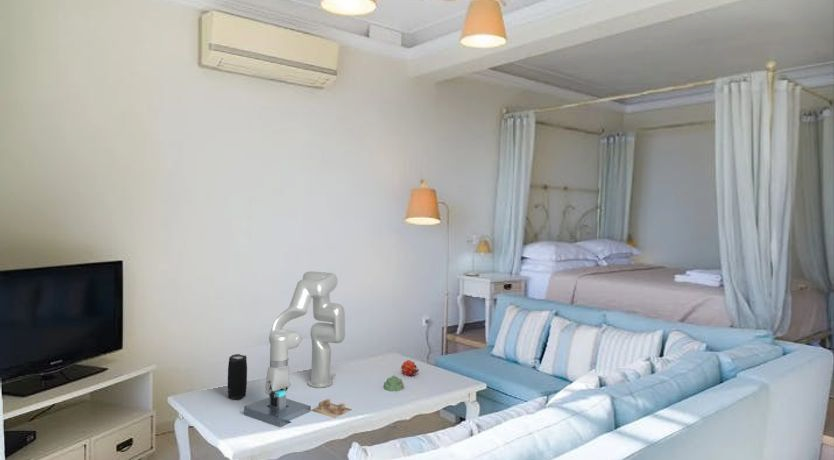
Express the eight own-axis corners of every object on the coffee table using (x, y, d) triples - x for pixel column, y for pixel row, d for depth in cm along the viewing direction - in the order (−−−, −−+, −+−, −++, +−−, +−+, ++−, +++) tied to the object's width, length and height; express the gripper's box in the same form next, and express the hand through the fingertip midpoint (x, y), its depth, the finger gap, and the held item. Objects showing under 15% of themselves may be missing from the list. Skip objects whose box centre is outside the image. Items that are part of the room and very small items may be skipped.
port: (275, 402, 252) (275, 395, 252) (310, 413, 240) (310, 406, 240) (244, 414, 237) (244, 406, 237) (280, 427, 225) (280, 418, 225)
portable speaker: (230, 401, 251) (230, 360, 250) (225, 395, 259) (226, 354, 258) (248, 398, 255) (249, 357, 254) (243, 392, 263) (244, 352, 262)
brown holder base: (328, 404, 252) (328, 396, 252) (352, 411, 245) (352, 402, 244) (310, 412, 242) (310, 403, 242) (334, 420, 234) (334, 411, 234)
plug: (276, 407, 242) (276, 389, 242) (286, 409, 239) (285, 391, 238) (269, 409, 238) (269, 391, 238) (279, 412, 235) (279, 393, 235)
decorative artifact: (394, 383, 285) (379, 387, 278) (394, 370, 284) (380, 374, 277) (407, 389, 278) (392, 393, 271) (408, 375, 277) (393, 379, 270)
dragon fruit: (404, 374, 306) (414, 383, 296) (394, 366, 302) (404, 376, 292) (414, 361, 307) (424, 370, 297) (404, 354, 303) (413, 363, 293)
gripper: (286, 357, 247) (285, 397, 247) (258, 365, 232) (257, 408, 233) (298, 360, 243) (297, 400, 243) (270, 369, 228) (269, 412, 229)
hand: (277, 403), depth 238 cm, fingers closed on plug, 3 cm apart
